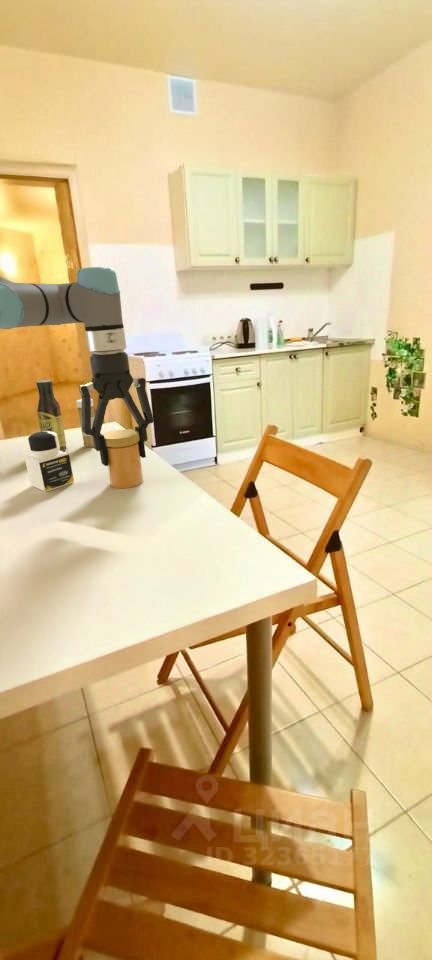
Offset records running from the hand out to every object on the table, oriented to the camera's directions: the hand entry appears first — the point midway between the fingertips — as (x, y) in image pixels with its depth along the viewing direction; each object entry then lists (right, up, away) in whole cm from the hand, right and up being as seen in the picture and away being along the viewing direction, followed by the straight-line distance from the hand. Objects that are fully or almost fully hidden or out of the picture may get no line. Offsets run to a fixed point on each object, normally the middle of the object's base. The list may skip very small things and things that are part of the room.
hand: (123, 460), depth 98 cm
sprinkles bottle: (-16, +6, +34) cm, 38 cm away
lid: (0, +5, -2) cm, 6 cm away
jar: (0, -5, +2) cm, 5 cm away
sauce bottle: (-26, +4, +30) cm, 40 cm away
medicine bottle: (-17, -6, +4) cm, 18 cm away
